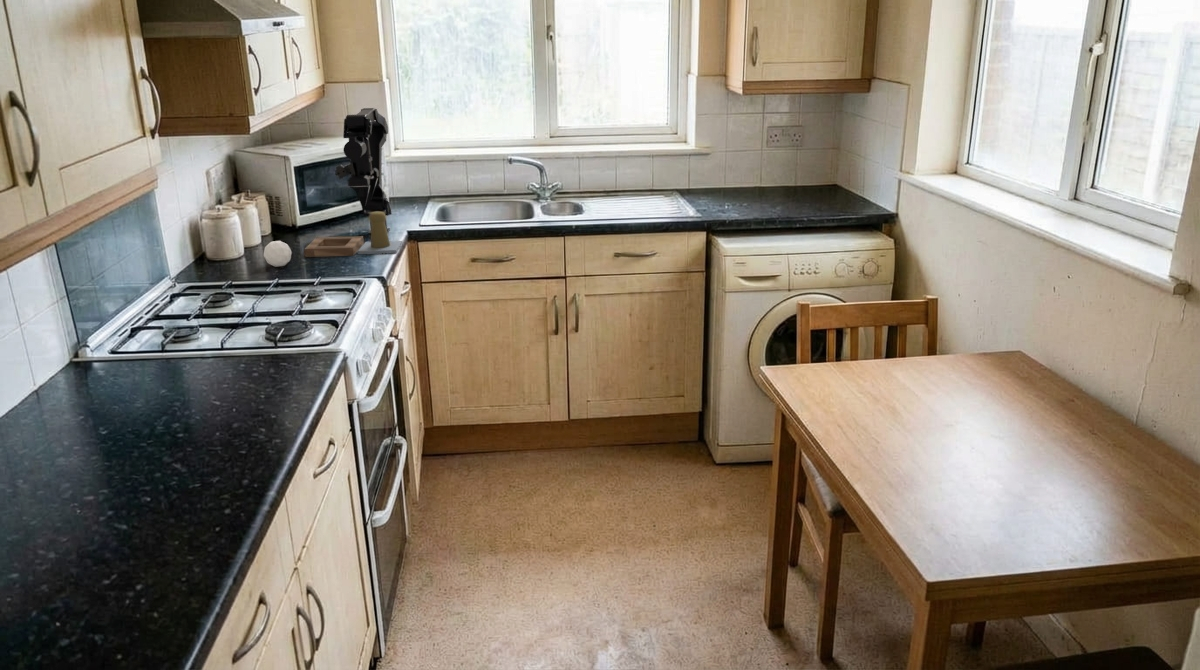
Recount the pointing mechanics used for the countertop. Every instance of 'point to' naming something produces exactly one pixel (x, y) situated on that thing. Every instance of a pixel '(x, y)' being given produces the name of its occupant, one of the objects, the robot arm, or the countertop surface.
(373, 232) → the cork
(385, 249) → the mat
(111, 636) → the countertop surface
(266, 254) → the ball
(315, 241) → the pocket frame
